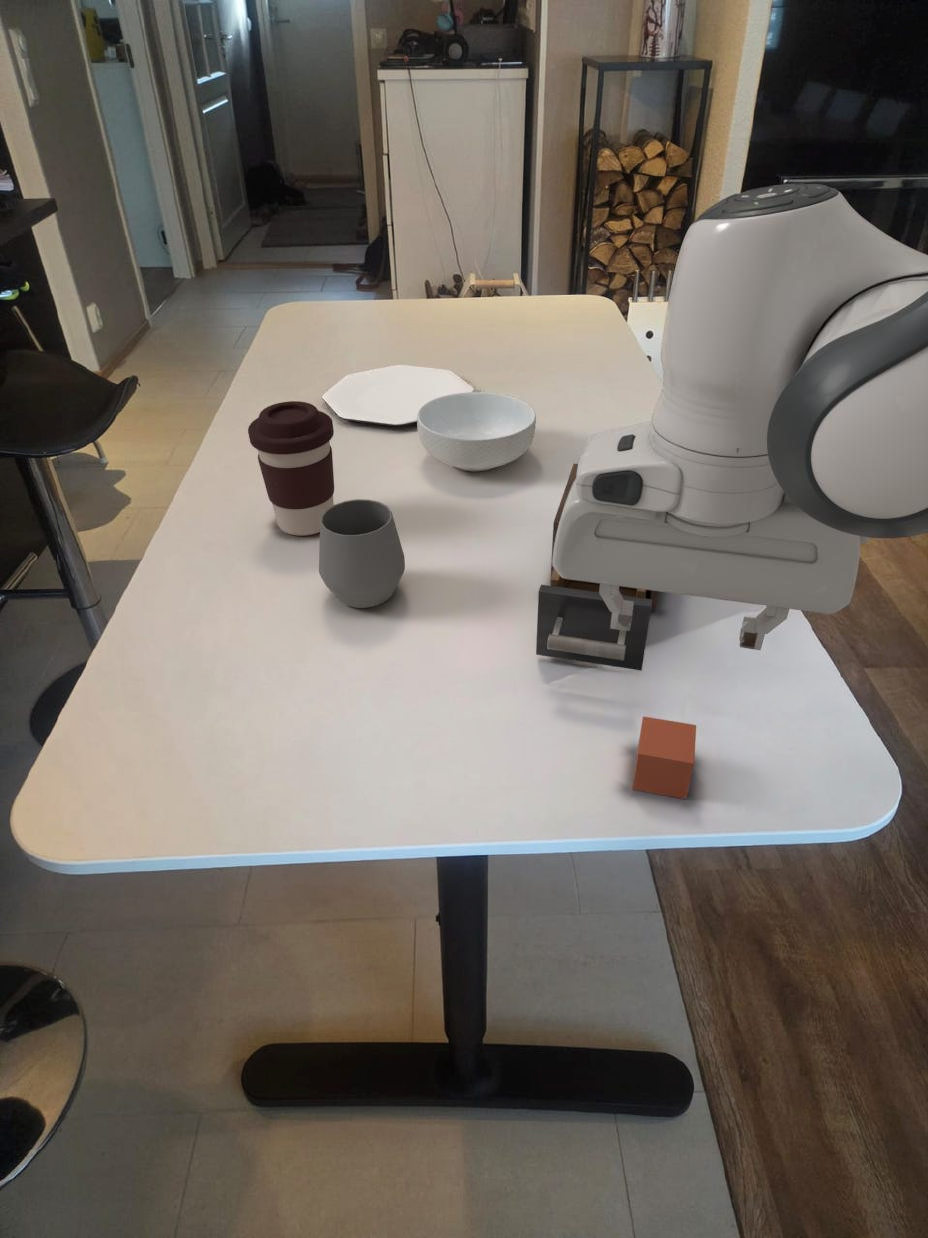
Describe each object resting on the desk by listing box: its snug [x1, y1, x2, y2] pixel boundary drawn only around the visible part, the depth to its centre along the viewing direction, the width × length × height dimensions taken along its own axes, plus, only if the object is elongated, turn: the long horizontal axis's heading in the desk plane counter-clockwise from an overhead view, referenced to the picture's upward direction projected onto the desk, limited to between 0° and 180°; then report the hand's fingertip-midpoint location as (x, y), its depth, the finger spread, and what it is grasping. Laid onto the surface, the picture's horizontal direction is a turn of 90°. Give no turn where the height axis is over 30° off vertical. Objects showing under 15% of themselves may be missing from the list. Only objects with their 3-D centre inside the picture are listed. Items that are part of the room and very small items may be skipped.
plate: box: [321, 364, 475, 427], centre depth 133 cm, size 24×24×2 cm
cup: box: [318, 498, 406, 609], centre depth 87 cm, size 10×9×10 cm
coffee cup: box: [247, 400, 335, 536], centre depth 98 cm, size 10×10×15 cm
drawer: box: [535, 568, 652, 671], centre depth 79 cm, size 17×10×8 cm, turn 165°
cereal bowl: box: [416, 391, 537, 472], centre depth 114 cm, size 17×17×7 cm
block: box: [632, 716, 697, 800], centre depth 67 cm, size 4×4×4 cm
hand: (684, 634), depth 60 cm, fingers open, 8 cm apart
